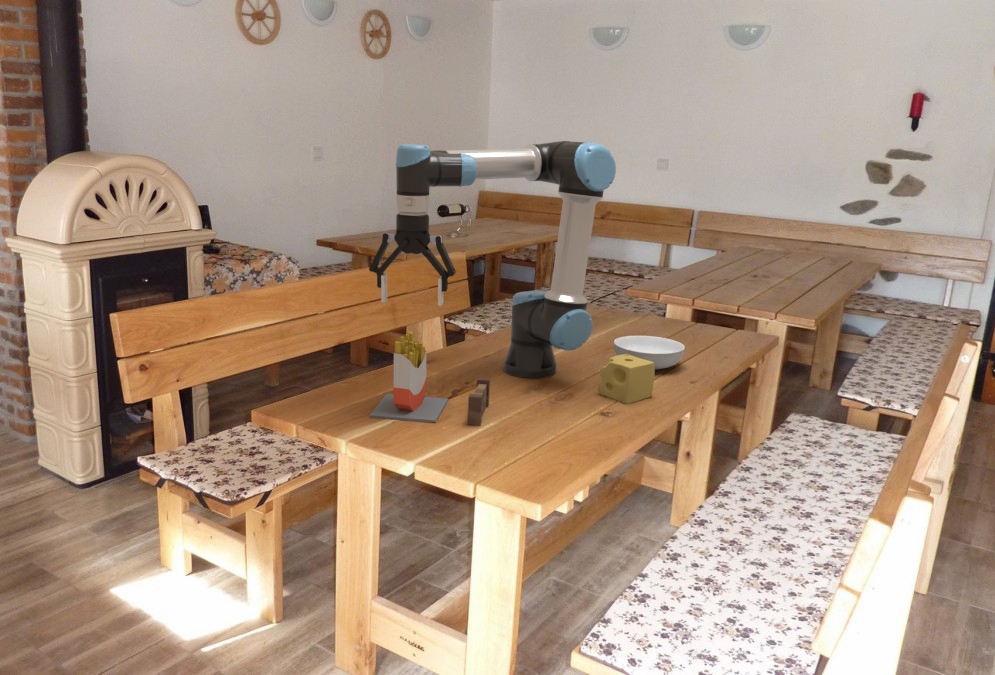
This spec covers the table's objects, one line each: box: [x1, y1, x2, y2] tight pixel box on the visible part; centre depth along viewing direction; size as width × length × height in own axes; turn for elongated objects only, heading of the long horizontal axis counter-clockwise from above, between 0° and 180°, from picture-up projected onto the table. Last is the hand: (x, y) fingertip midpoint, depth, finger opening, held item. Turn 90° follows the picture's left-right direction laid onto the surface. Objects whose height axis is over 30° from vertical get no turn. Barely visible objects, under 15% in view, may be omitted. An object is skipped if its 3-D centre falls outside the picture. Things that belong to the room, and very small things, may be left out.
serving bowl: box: [613, 335, 686, 371], centre depth 247 cm, size 21×21×7 cm
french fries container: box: [392, 331, 427, 411], centre depth 201 cm, size 5×11×18 cm, turn 163°
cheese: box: [597, 354, 656, 405], centre depth 219 cm, size 10×11×10 cm
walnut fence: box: [467, 376, 491, 427], centre depth 201 cm, size 15×3×7 cm, turn 173°
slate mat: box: [369, 393, 449, 424], centre depth 204 cm, size 16×16×1 cm
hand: (412, 303), depth 197 cm, fingers open, 13 cm apart
